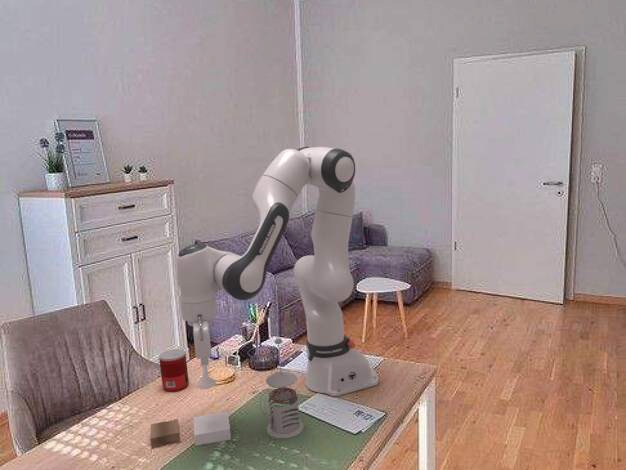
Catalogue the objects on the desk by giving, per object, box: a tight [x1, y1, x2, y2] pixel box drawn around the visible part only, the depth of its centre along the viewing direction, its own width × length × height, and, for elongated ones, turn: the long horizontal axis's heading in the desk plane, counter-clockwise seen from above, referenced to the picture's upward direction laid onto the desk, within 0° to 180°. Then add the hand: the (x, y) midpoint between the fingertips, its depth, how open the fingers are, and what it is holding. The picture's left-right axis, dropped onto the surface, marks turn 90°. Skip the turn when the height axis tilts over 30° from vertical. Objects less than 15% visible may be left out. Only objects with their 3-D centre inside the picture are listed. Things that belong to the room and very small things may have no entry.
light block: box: [193, 411, 232, 447], centre depth 138 cm, size 9×9×3 cm
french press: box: [259, 337, 305, 439], centre depth 136 cm, size 10×12×25 cm
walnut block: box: [150, 418, 181, 449], centre depth 138 cm, size 7×7×3 cm
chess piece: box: [196, 363, 217, 390], centre depth 135 cm, size 5×5×10 cm
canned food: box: [158, 348, 190, 393], centre depth 165 cm, size 8×8×11 cm
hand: (204, 360), depth 135 cm, fingers closed on chess piece
